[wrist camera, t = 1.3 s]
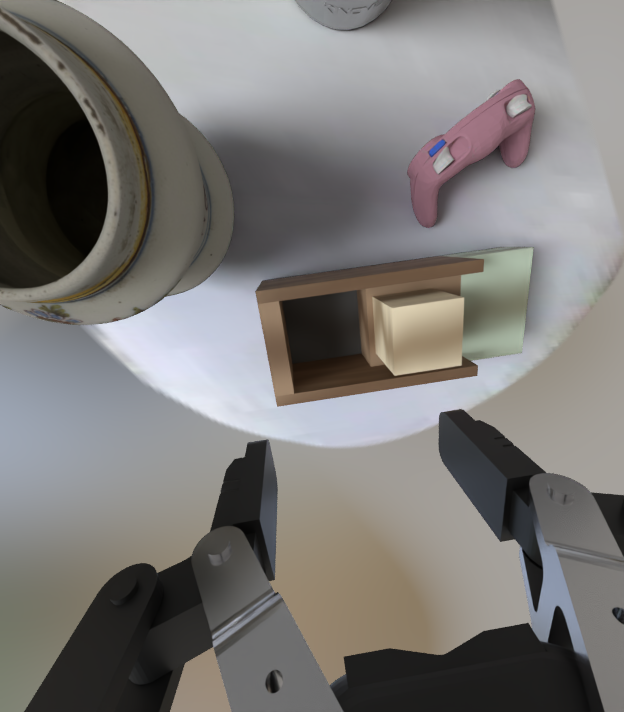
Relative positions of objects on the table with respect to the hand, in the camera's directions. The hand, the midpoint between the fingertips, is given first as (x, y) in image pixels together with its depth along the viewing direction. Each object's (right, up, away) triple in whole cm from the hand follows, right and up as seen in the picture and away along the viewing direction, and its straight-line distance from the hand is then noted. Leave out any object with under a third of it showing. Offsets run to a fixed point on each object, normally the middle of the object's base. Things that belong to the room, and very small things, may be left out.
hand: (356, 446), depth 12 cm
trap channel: (+6, +8, +19) cm, 21 cm away
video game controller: (+10, +20, +15) cm, 27 cm away
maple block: (+6, +6, +15) cm, 17 cm away
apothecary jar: (-13, +15, +15) cm, 25 cm away
